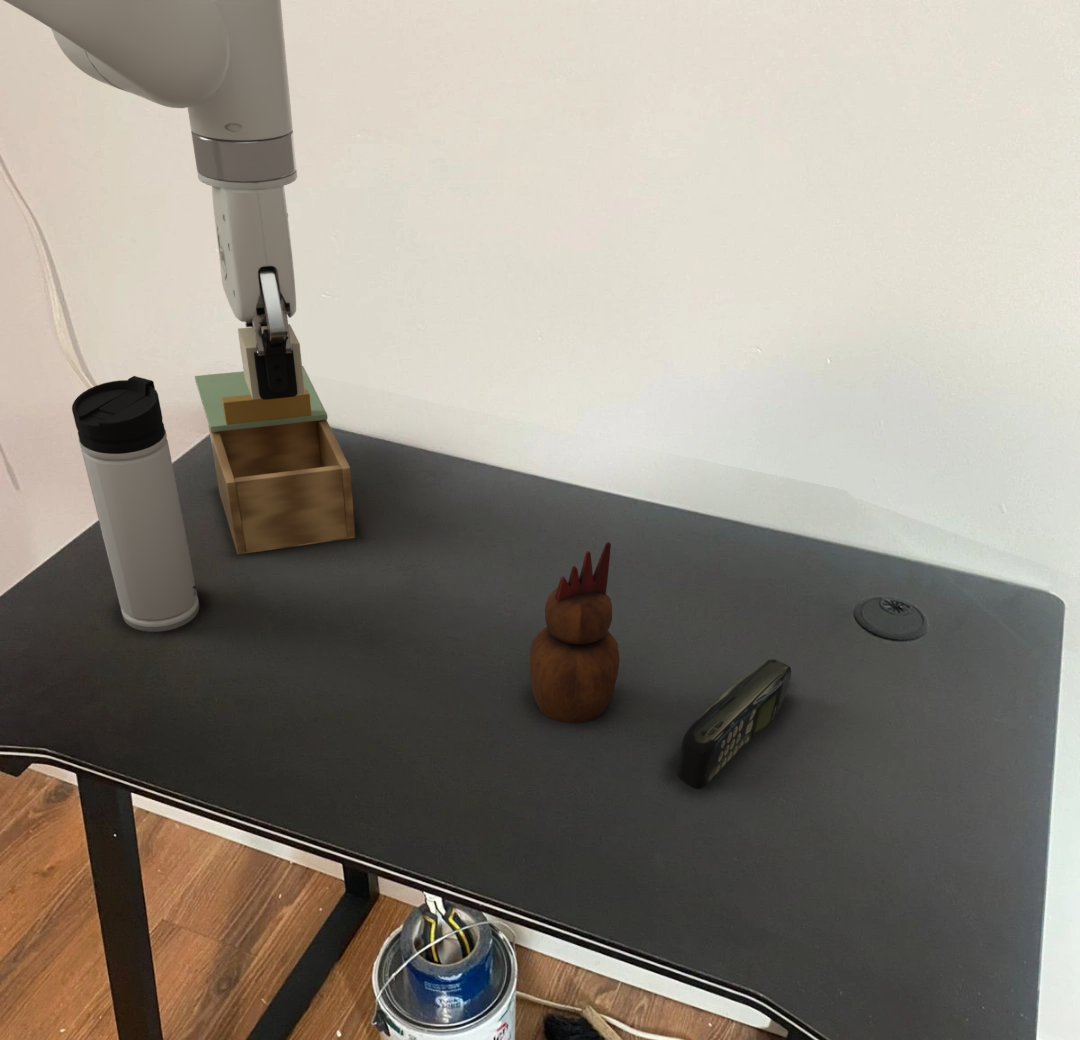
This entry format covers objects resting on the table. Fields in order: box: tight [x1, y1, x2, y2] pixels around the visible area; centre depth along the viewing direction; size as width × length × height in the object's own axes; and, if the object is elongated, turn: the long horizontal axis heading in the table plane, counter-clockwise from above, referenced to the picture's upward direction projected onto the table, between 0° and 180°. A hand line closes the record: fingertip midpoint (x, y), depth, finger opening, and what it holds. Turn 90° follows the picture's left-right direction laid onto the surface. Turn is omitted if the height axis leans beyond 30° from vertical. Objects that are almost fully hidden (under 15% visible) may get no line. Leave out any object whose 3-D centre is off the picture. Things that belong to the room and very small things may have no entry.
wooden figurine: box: [529, 542, 620, 724], centre depth 80 cm, size 7×6×15 cm
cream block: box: [237, 323, 305, 399], centre depth 93 cm, size 4×4×4 cm
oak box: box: [208, 419, 356, 555], centre depth 102 cm, size 11×12×8 cm
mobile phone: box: [676, 658, 792, 790], centre depth 81 cm, size 5×3×15 cm
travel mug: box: [71, 375, 200, 633], centre depth 85 cm, size 6×7×20 cm
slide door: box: [194, 365, 328, 432], centre depth 105 cm, size 11×12×3 cm
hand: (273, 382), depth 94 cm, fingers closed on cream block, 4 cm apart
